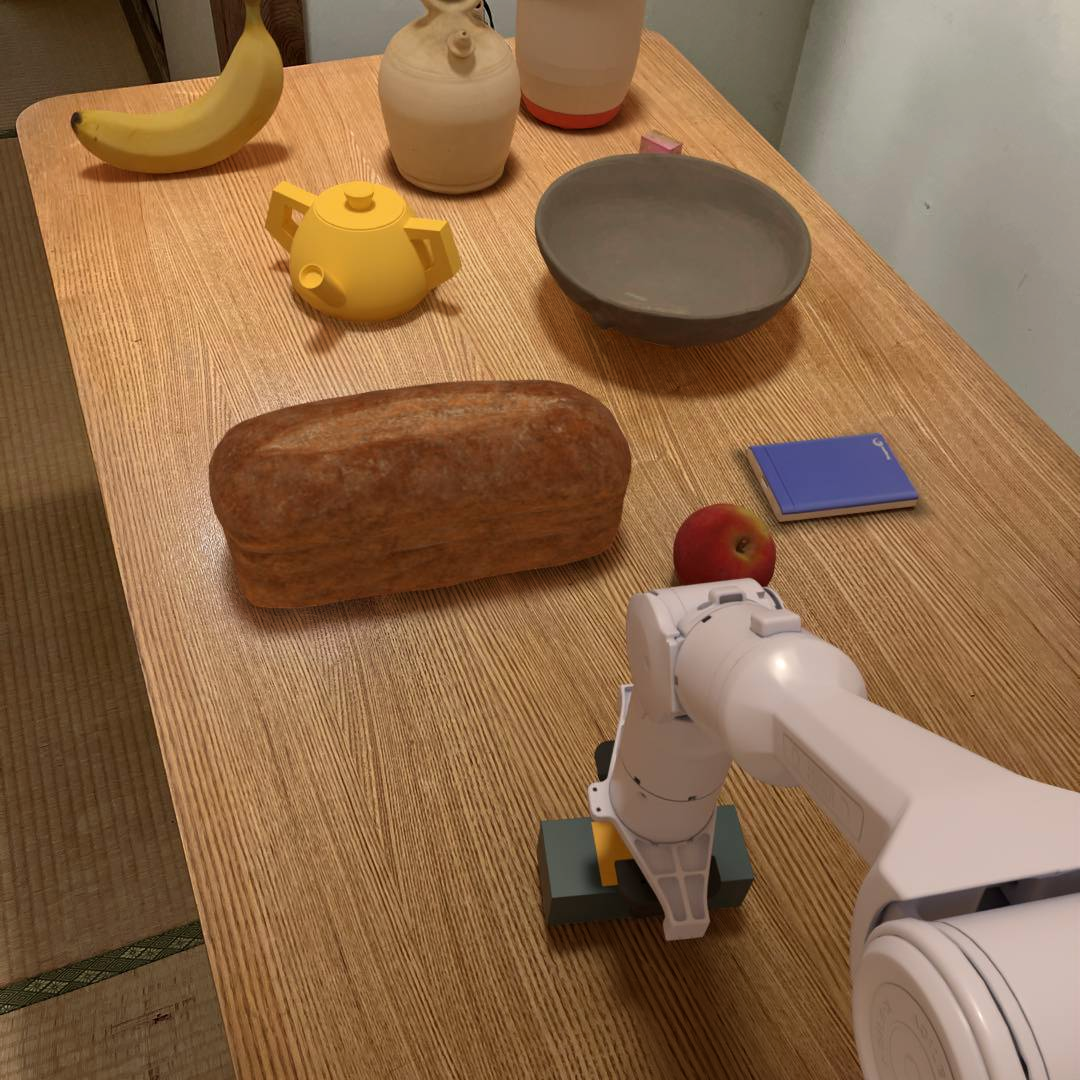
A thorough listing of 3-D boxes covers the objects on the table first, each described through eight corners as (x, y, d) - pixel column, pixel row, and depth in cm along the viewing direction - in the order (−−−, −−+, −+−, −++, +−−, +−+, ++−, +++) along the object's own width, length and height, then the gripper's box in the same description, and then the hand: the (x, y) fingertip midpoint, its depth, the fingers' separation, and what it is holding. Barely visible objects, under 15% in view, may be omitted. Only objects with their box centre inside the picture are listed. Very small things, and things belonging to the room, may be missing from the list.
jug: (391, 129, 129) (382, -102, 110) (519, 140, 129) (533, -88, 111) (372, 197, 119) (360, -46, 100) (512, 208, 119) (525, -31, 101)
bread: (220, 515, 86) (192, 384, 76) (588, 462, 93) (606, 336, 83) (234, 634, 78) (204, 506, 68) (633, 567, 85) (659, 441, 75)
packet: (721, 834, 69) (735, 803, 66) (740, 906, 66) (755, 877, 63) (536, 851, 67) (540, 820, 64) (546, 926, 64) (551, 897, 61)
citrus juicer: (574, 65, 144) (590, -100, 129) (658, 121, 135) (684, -50, 120) (477, 91, 137) (481, -81, 122) (558, 151, 128) (573, -26, 113)
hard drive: (879, 430, 96) (749, 443, 94) (920, 495, 91) (783, 511, 88) (874, 443, 97) (746, 456, 95) (914, 508, 92) (779, 524, 90)
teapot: (219, 327, 102) (199, 224, 93) (304, 228, 114) (293, 129, 105) (417, 378, 99) (415, 277, 91) (482, 272, 111) (486, 173, 102)
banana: (86, 190, 116) (34, -4, 101) (82, 163, 119) (32, -28, 104) (296, 167, 122) (277, -18, 107) (287, 142, 125) (267, -41, 111)
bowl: (817, 283, 114) (844, 197, 106) (743, 431, 97) (768, 342, 90) (590, 213, 120) (600, 127, 112) (483, 341, 103) (486, 250, 96)
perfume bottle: (603, 182, 124) (607, 145, 121) (666, 148, 131) (672, 112, 127) (685, 225, 119) (692, 188, 116) (747, 187, 126) (755, 151, 122)
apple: (662, 621, 82) (679, 552, 76) (668, 543, 87) (685, 473, 81) (762, 636, 81) (787, 568, 76) (762, 557, 87) (785, 487, 81)
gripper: (576, 642, 59) (556, 767, 69) (624, 895, 50) (593, 997, 60) (700, 634, 60) (663, 759, 70) (770, 880, 51) (715, 984, 61)
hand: (638, 868), depth 65 cm, fingers closed on packet, 5 cm apart
